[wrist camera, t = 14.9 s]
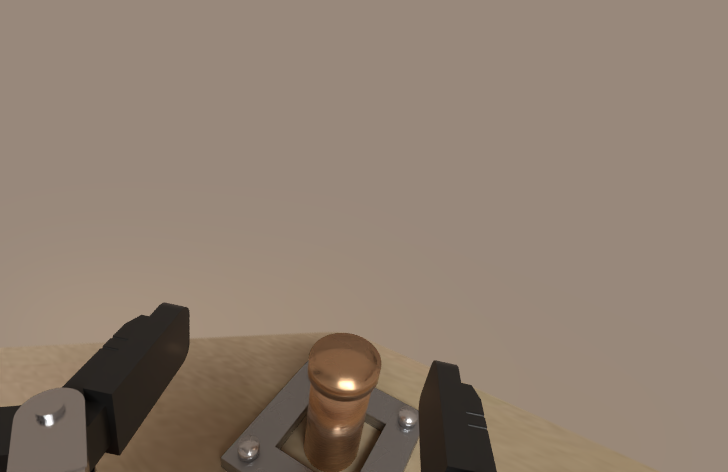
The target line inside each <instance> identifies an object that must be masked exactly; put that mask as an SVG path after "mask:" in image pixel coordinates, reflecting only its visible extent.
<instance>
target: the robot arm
mask: <svg viewBox="0 0 728 472" xmlns="http://www.w3.org/2000/svg"><path fill="white" fill-rule="evenodd" d="M188 350H189V309H188V308H187V307H183V306H178V305H174V304H169V303H162V304H161V305H159V306H158V308H157V309H156V310H155V311H154V312H153V313H152V314H151V315H150V316H144V315H140V316H139V317H137V318H135V319H133V320H131V321H129V322H127V323H126V324H124V325H123V326H122V328H120V329H119V330H118V332H116V333H115V334H114V335H113V338H111V339H109V340H108V341H107V342H106V343H105V344H104V345H103V348H102V349H100V350H99V351H98V352H97V353H96V354H95V355H94V356H93V357H92V358H91V359H90V360H89V361H88V362H87V363H86V364H85V365H84V366H83V367H82V368H81V369H80V370H79V371H78V372H77V373H76V374H75V375H74V376H73V377H72V378H71V379H70V380H69V381H68V382H67V383H66V384H65V385H64V386H63V387H62V388H55V389H51V390H47V391H44V392H42V393H39V394H37V395H35V396H33V397H32V398H30V399H29V400H27V401H26V402H25V403H23V405H20V406H9V407H0V472H96V464H97V463H98V461H99V460H100V459H101V457H102V456H103V455H104V453H110V454H115V455H120V454H121V453H122V451H123V450H124V448H125V447H126V446H127V444H128V443H129V441H130V440H131V438H132V437H133V435H134V434H135V432H136V431H137V430H138V428H139V427H140V425H141V424H142V422H143V421H144V419H145V418H146V416H147V415H148V413H149V412H150V411H151V409H152V408H153V406H154V405H155V403H156V402H157V400H158V399H159V397H160V396H161V395H162V393H163V392H164V390H165V389H166V387H167V386H168V384H169V383H170V381H171V380H172V378H173V377H174V376H175V374H176V373H177V371H178V370H179V368H180V367H181V365H182V364H183V362H184V360H185V358H186V356H187V353H188ZM418 413H419V437H420V460H421V472H497V471H496V466H495V462H494V457H493V453H492V448H491V444H490V439H489V434H488V431H487V425H486V421H485V418H484V412H483V407H482V403H481V399H480V398H479V396H478V395H477V393H476V391H475V390H474V388H473V387H472V385H468V384H463V383H461V380H460V374H459V369H458V366H457V365H454V364H449V363H445V362H440V361H433V363H432V365H431V368H430V370H429V373H428V376H427V379H426V382H425V384H424V387H423V390H422V393H421V396H420V401H419V412H418Z"/></svg>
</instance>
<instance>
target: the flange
mask: <svg viewBox="0 0 728 472" xmlns="http://www.w3.org/2000/svg"><path fill="white" fill-rule="evenodd" d="M308 362H309V360H308V361H307V362H306V363H305V364H304V366H303V367H302V368H301V369H300V370H299V371H298V372H297V373H296V374H295V376H294V377H293V378H292V379H291V380H290V381H289V382H288V383H287V384H286V386H285V387H284V388H283V389H282V390H281V391H280V392H279V393H278V394H277V396H276V397H275V398H274V399H273V400H272V401H271V402H270V403H269V404H268V406H267V407H266V408H265V409H264V410H263V411H262V412H261V413H260V414H259V416H258V417H257V418H256V419H255V420H254V421H253V422H252V423H251V424H250V426H249V427H248V428H247V429H246V430H245V431H244V432H243V433H242V434H241V436H240V437H239V438H238V439H237V440H236V441H235V442H234V443H233V444H232V446H231V447H230V448H229V449H228V450H227V451H226V452H225V453H224V454H223V456H222V457H221V466H222V467H223V468H224V469H225V470H227V471H228V472H313V471H312V470H310V469H309V468H307V467H306V466H304V465H303V464H301V463H300V462H298V461H296V460H295V459H293V458H292V457H290V456H289V455H287V454H286V453H284V452H283V451H281V450H279V449H280V448H281V447H282V445H283V444H284V443H285V441H286V440H287V439H288V438H289V436H290V435H291V434H292V432H293V431H294V430H295V428H296V427H297V426H298V425H299V423H300V422H301V421H302V419H303V418H304V417H305V416H306V414H307V413H308V403H309V394H310V385H311V382H310V380H309V377H308ZM418 412H419V411H418V410H416V409H415V408H413V407H411V406H409V405H407V404H405V403H403V402H401V401H399V400H397V399H395V398H393V397H392V396H390V395H388V394H386V393H384V392H382V391H380V390H378V389H376V388H374V390H373V391H372V392H371V394H370V399H369V403H368V408H367V412H366V417H365V421H364V422H366V423H368V424H369V425H371V426H373V427H375V428H376V429H378V430H380V431H382V433H381V435H380V437H379V438H378V440H377V442H376V444H375V446H374V448H373V449H372V451H371V453H370V455H369V457H368V459H367V460H366V462H365V464H364V466H363V468H362V470H361V471H360V472H404V470H405V468H406V466H407V463H408V461H409V459H410V457H411V454H412V452H413V450H414V448H415V445H416V443H417V441H418V439H419V413H418Z"/></svg>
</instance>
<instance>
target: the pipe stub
mask: <svg viewBox="0 0 728 472" xmlns="http://www.w3.org/2000/svg"><path fill="white" fill-rule="evenodd" d="M380 370H381V358H380V355H379V353H378V351H377V349H376V348H375V347H374V346H373V345H372V344H371V343H370V342H369V341H367V340H366V339H364V338H362V337H360V336H357V335H354V334H349V333H335V334H331V335H327V336H325V337H323V338H321V339H320V340H318V341H317V342H316V343H315V344H314V346H313V347H312V349H311V351H310V354H309V362H308V377H309V380H310V382H311V385H310V394H309V403H308V413H307V422H306V431H305V441H304V451H305V455H306V457H307V459H308V460H309V462H310V463H311V464H312V465H313V466H314V467H316V468H317V469H319V470H321V471H324V472H339V471H342V470H344V469H346V468H347V467H349V466H350V465H351V464H352V463H353V461H354V460H355V458H356V456H357V452H358V448H359V443H360V439H361V434H362V430H363V426H364V421H365V417H366V412H367V408H368V403H369V399H370V394H371V392H372V391H373V390H374V388H375V387H376V385H377V382H378V378H379V374H380Z"/></svg>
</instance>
